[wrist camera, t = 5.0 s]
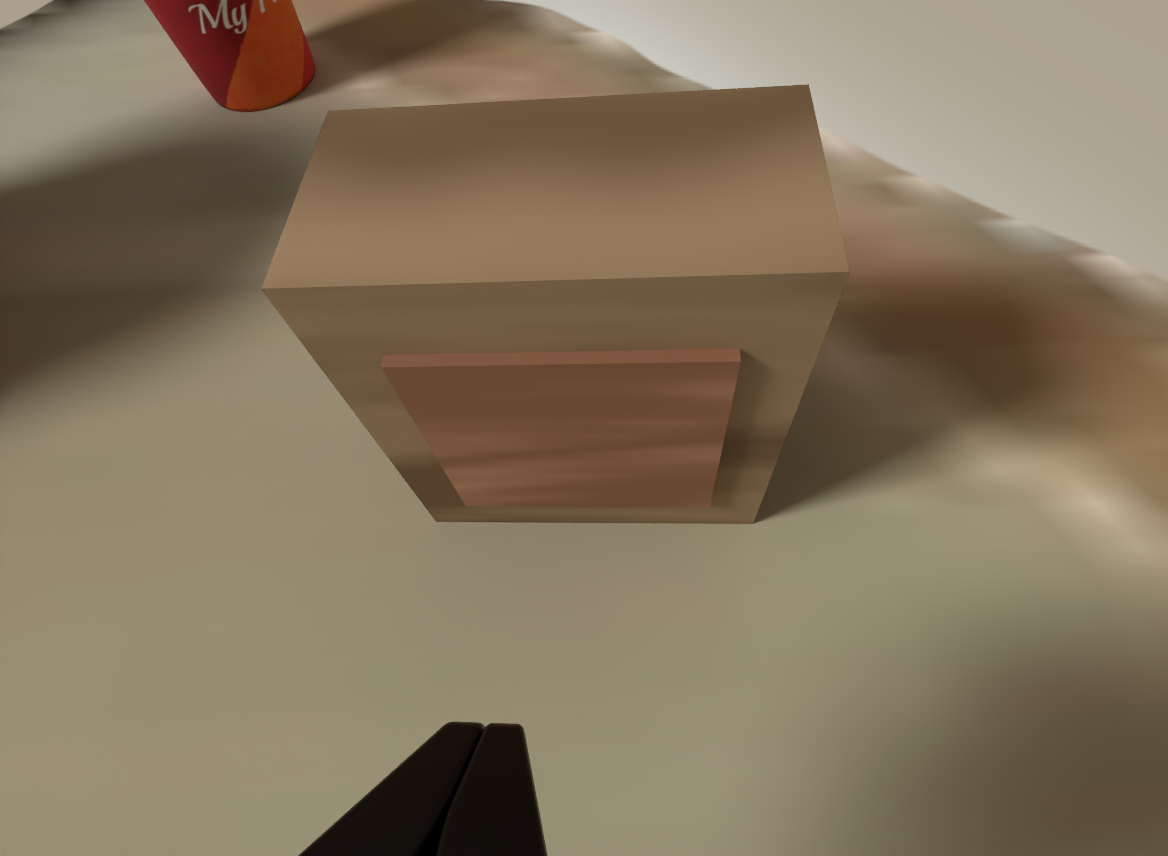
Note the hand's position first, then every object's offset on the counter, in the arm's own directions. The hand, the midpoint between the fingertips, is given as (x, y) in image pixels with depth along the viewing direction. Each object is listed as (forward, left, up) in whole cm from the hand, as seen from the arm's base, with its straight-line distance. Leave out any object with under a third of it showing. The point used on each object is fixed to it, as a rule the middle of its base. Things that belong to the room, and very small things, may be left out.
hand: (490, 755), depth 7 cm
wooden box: (+9, -3, -11) cm, 15 cm away
